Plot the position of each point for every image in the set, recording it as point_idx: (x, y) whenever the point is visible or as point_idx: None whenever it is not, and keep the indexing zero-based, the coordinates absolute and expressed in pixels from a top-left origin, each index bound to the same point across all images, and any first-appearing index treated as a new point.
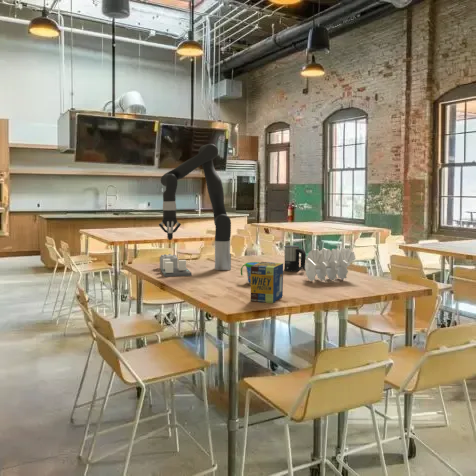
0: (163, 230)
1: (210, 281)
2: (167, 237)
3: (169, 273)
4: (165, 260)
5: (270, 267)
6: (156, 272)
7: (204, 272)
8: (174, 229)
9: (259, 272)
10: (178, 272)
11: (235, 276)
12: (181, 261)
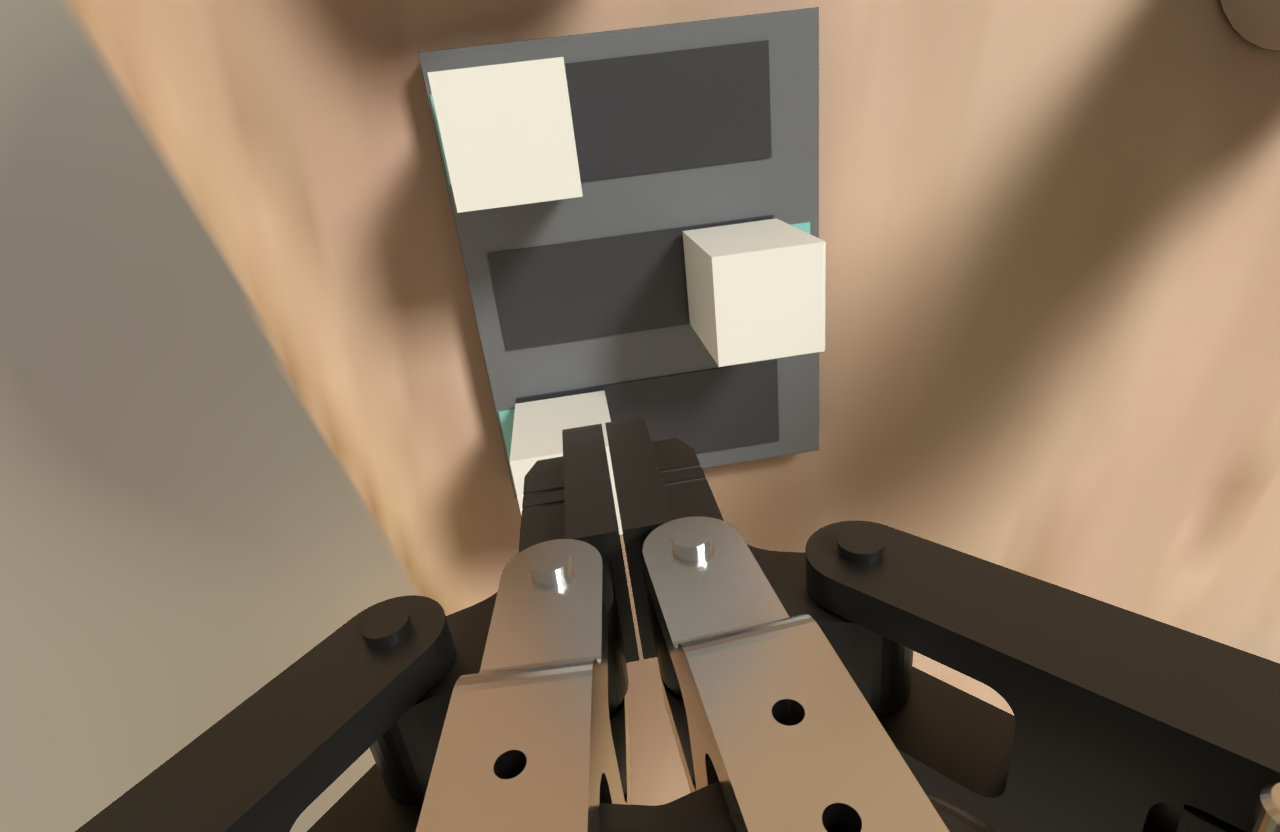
0: (331, 826)
1: None
2: (526, 494)
3: None
4: (490, 206)
5: None
6: (365, 141)
7: (997, 211)
8: (897, 622)
9: None
10: (675, 426)
11: (1196, 488)
12: (753, 358)
